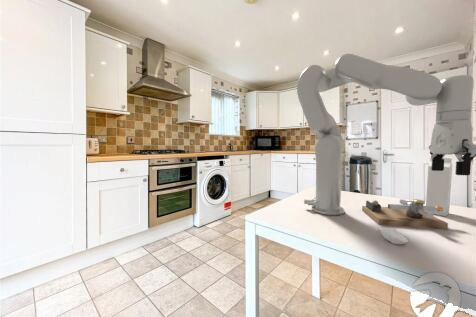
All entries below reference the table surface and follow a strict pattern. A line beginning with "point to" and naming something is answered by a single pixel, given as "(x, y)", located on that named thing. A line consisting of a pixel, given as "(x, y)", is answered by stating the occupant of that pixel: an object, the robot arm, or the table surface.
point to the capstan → (416, 208)
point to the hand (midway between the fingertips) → (449, 172)
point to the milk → (439, 187)
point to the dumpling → (393, 236)
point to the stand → (399, 217)
